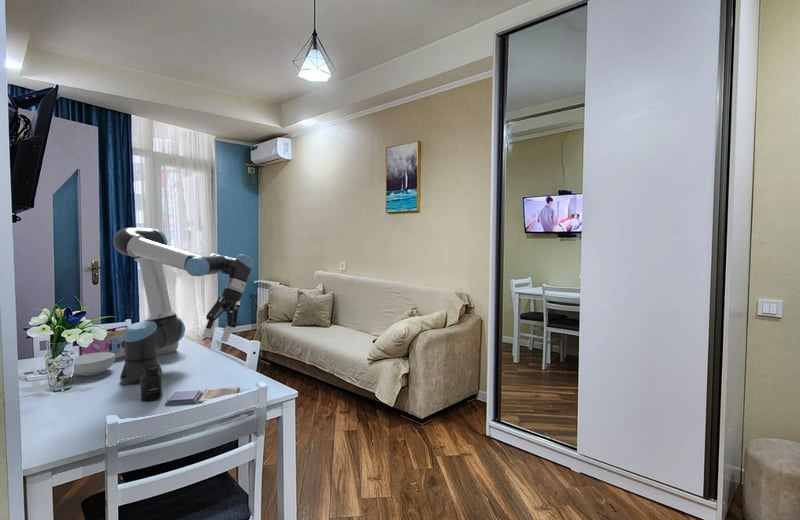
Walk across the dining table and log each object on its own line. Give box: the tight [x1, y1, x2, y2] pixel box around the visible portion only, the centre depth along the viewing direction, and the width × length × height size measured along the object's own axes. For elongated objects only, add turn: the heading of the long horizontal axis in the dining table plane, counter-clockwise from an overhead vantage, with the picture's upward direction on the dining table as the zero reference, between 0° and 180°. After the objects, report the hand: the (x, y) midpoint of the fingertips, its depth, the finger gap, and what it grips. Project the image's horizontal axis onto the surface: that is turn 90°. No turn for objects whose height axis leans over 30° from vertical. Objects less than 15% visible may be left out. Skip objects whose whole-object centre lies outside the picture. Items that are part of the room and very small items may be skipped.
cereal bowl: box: [73, 352, 116, 377], centre depth 181 cm, size 17×17×7 cm
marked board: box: [196, 386, 240, 405], centre depth 157 cm, size 12×12×1 cm
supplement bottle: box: [140, 365, 163, 403], centre depth 153 cm, size 7×7×12 cm
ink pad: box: [164, 389, 203, 407], centre depth 153 cm, size 10×10×2 cm
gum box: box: [78, 325, 129, 359], centre depth 203 cm, size 24×8×14 cm, turn 157°
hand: (215, 339), depth 169 cm, fingers open, 13 cm apart
